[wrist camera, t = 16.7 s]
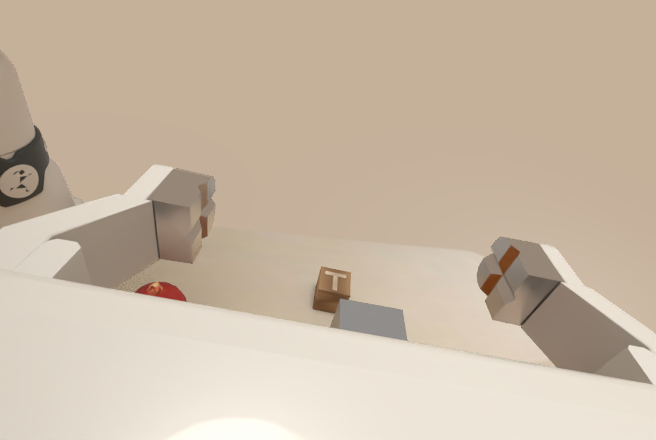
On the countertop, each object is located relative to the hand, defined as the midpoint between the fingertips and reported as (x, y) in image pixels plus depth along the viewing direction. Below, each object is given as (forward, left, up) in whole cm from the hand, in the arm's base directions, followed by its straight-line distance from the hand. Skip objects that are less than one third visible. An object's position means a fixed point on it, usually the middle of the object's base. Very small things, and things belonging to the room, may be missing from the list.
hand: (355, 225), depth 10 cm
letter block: (-3, +23, -30) cm, 38 cm away
